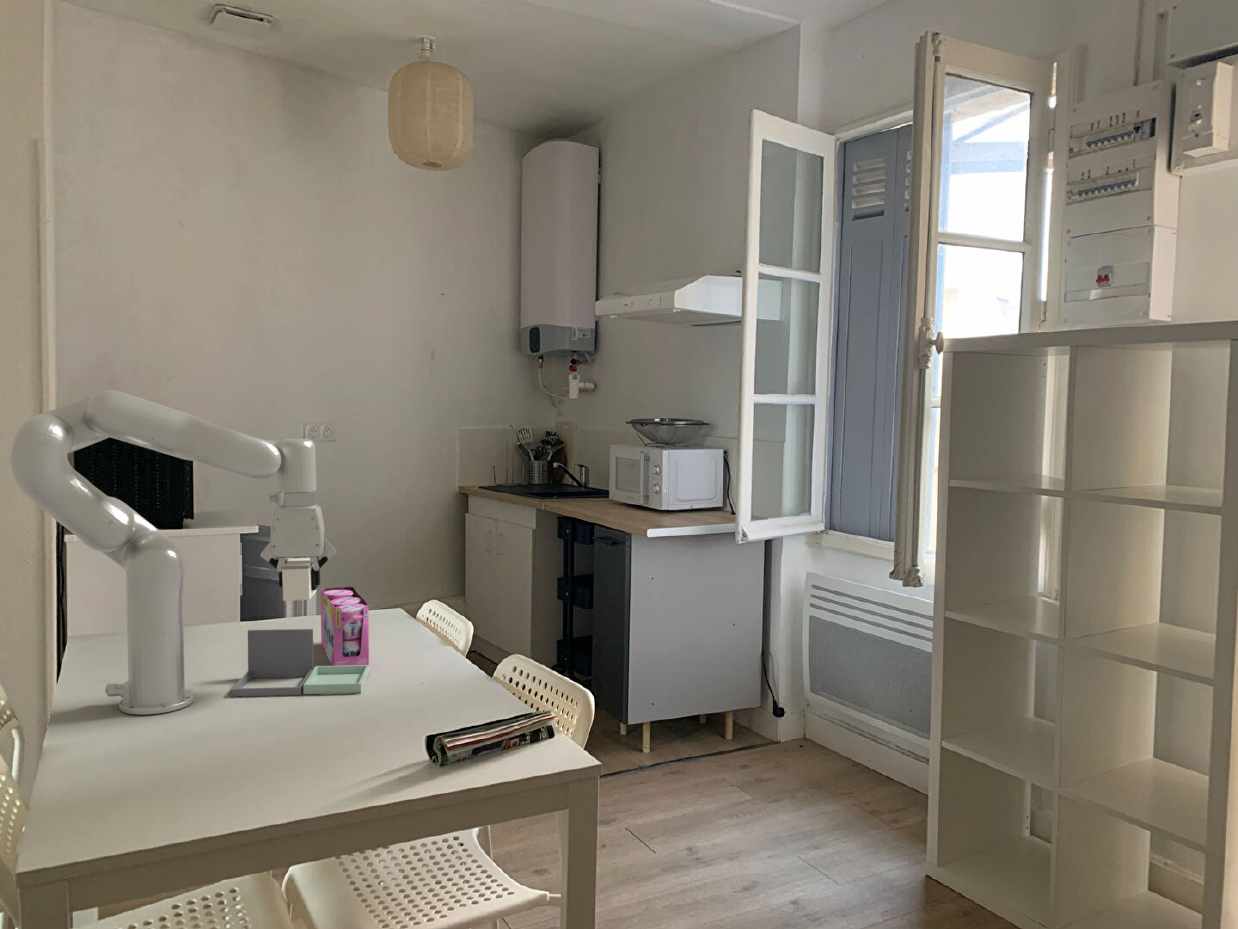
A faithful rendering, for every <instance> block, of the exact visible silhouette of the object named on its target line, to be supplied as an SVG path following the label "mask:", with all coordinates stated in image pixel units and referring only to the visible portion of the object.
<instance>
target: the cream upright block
mask: <svg viewBox="0 0 1238 929" xmlns="http://www.w3.org/2000/svg"><path fill="white" fill-rule="evenodd" d="M312 567H313V566H312V563H311V560H310V557H302V558H288V560H287V562H286V563H285V564H284V565H282V566H281V569H282V580H283V591H282V601H283V602H287V601H310V600H311V598H313V596H314V595H315V594H316V592H317V589H316V590H312V589H311V571H312Z"/></svg>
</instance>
